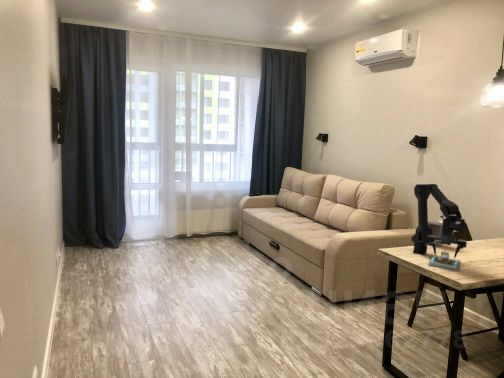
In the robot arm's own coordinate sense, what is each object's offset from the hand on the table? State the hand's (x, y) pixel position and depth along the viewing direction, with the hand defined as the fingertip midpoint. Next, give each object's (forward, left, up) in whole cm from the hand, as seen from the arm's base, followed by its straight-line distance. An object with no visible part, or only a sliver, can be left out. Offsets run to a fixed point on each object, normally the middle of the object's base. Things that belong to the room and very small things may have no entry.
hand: (444, 256), depth 215 cm
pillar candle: (-9, +40, -4) cm, 42 cm away
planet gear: (0, 0, -4) cm, 4 cm away
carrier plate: (0, +2, -4) cm, 5 cm away
